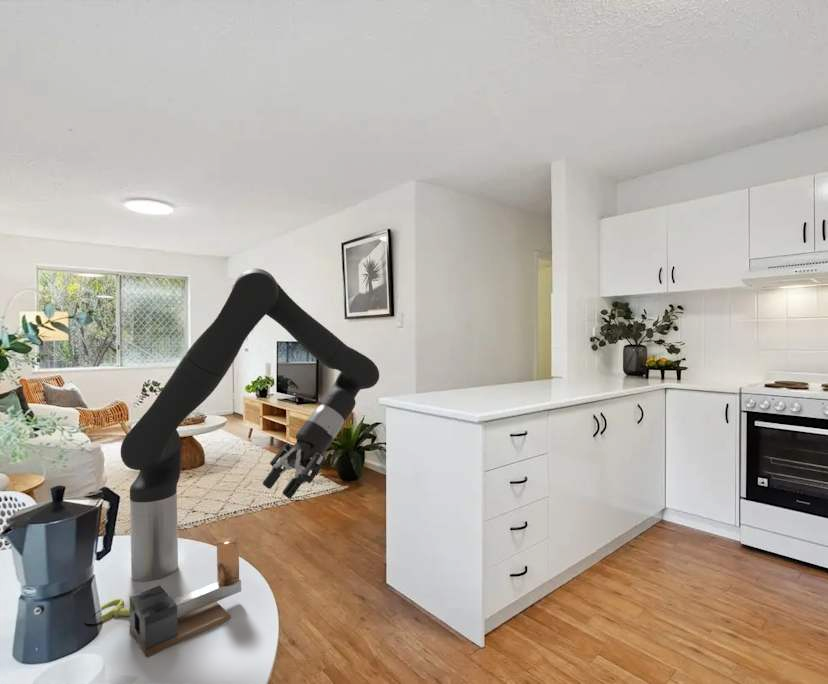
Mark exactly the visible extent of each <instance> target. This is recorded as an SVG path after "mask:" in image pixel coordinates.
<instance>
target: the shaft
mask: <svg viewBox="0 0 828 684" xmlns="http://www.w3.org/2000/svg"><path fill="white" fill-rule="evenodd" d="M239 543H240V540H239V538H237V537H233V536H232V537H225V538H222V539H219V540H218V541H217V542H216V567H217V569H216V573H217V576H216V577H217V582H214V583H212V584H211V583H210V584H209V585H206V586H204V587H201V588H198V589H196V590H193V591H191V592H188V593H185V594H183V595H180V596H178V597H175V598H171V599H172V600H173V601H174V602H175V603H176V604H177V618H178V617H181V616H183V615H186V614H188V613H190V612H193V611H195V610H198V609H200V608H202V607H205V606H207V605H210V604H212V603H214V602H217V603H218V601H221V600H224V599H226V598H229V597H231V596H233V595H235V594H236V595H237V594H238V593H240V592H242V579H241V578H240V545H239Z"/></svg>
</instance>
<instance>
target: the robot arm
mask: <svg viewBox="0 0 828 684" xmlns="http://www.w3.org/2000/svg"><path fill="white" fill-rule="evenodd" d="M265 316H268V317H269V318H271V319H272V320H273V321H274V322H276V323H278V325H280V326H281V327H283V328H284V329H285V331H286V332H287V333H289V335H291V336H292V338H293V339H294V340H296V342H297V344H300V346H301V347H302V348H303V349H305V351H307V352H308V353H309V354H310V355H312V356H313V357H314V358H315V359H316V360H317V361H319V362H320V363H321V364H322V365H324V366H325V367H327V368H328V369H331V370H336V371H338V372H339V374H338V375H337V377H336V379H335V381H334V383H333V385H332V387H331V390H330V391H329V393H328V394H327V395H326V396H325V397H324V399H323V400H322V402H321V403H320V404H319V406H318V407H317V408H316V409H314V411H313V412H312V413H311V414H310V415H309V417H308V418H307V420H306V421H305V422H304V423H303V425H302V426H301V428H300V429H299V431H298V432H297V433H296V435H295V440H296V443H294V445H293V446H292V445H291V444H290V443H288V442H286V443H285V444H283V446H282V447H281V449H280V450H279V451H278V452H277V454H276V455H275V456H274V457H273V458H272V460H271V461H270V462H269V465H270V466H271V468H272V469H271V471H270V472H269V473H268V474H267V476H266V477H265V479H264V480H263V481H262V485H263V486H264V487H266V488H267V489H269V490H270V489H272V488H273V487H274V485H275V484H276V483H277V481H278V479H279V478H280V477H281V475H282V474H283V473H285V472H286V471H291V470H292V469H295V472H294V476H293V477H292V478H291V479H290V481H289V482H288V484H287V485H286V486H285V488H284V489H283V491H282V494H283V496H285V497H286V498H287V499H292V497H293V496H294V495H295V494H296V493H297V491H298V489H300V487H301V485H303V484H305V483H308V484H311V483H312V482H313V480H314V479H315V477H316V475H317V474H318V472H319V471H320V470H321V468H322V466H323V465H324V463H325V462H326V459H325V457H324V456H323V455H324V454H325V452H326V451H327V450H328V448H329V447H330V445H331V444H332V443H333V441H334V439H335V438H336V437H337V435H338V433H340V431H341V430H342V429H341V428H342V427H343V426H344V424H345V422H346V420H347V419H348V417H350V415H351V413H352V412H353V410H354V408H355V406H356V403H357V401H356V399H355V398H356V396H357V395H358V393H360V391H361V390H365V389H370V388H372V387H374V386H376V384H378V382H379V379H380V371H379V368H378V366H377V365H376V364H375V362H374V361H373V360H372V359H370V358H369V357H368V356H366V355H364V354H363V353H361V352H359V351H358V350H356V349H354V348H352V347H350V346H348V345H347V344H345V343H344V342H343V341H342V340H341V339H340V338H338V336H336V335H335V334H334V333H333V332H331V331H330V330H329V329H328V328H326V327H325V326H324V325H322V324H321V323H320V322H319V321H318V320H316V319H315V318H314V317H312V316H311V315H310V314H309V313H308V312H306V311H305V310H304V309H303V308H301V306H300V305H298V304H297V303H296V302H295V301H294V300H293V299H292V298H291V297H290V296H289V294H288V293H287V292H286V291H285V290H284V289H283V288H282V287H281V286H280V284H279V283H278V282H277V280H276V279H275V276H273V275H272V274H271V273H270V272H269V271H266V270H264V269H261V268H250V269H247V270H245V271H243V272H242V273H241V274H240V275H239V276H238V278H237V279H236V280H235V281H234V285H233V287H232V290H231V291H230V293H229V296H228V297H227V299H226V301H225V303H224V305H223V306H222V308H221V310H220V312H219V313H218V314H217V316H216V318H215V319H214V321H213V322H212V323H211V324H210V325H209V326H208V327H207V328H206V329H205V331H203V333H202V334H200V336H198V338H197V339H196V340H195V341H194V342H193V344H192V345H191V346H190V347H189V349H188V351H187V352H186V353H185V355H184V356H183V358H182V359H181V361H180V362H179V363H178V364H177V366H176V367H175V370H174V372H173V373H172V375H171V376H170V378H169V379H168V380H167V382H166V383H165V385H164V386H163V387H162V389H161V390H160V392H159V393H158V395H157V397H156V398H155V400H154V402H152V404H151V405H150V407H149V408H148V409H147V411H145V413H144V414H143V415H142V416H141V418H140V419H138V421H137V422H136V423H135V424H134V425H133V427H132V428H131V429H130V430H129V431H128V433H127V434H126V435H125V437H123V440H122V443H121V447H120V458H121V461H122V463H123V465H124V466H126V467H127V468H128V469H131V470H134V471H139V473H138V475H137V476H136V478H135V480H134V481H133V483H132V484H131V486H130V488H129V513H130V514H129V516H130V519H129V520H130V521H129V522H130V523H129V524H130V563H131V564H130V569H131V572H130V573H131V578H132V580H135V581H138V582H139V581H142V582H146V581H147V582H148V581H154V580H158V579H161V578H164V577H166V576H168V575H171V574H172V573H174V572H175V571H176V570H177V569H178V568H179V550H178V549H179V545H178V544H179V541H178V539H179V538H178V537H179V536H178V497H177V496H178V495H177V491H178V490H177V489H178V486H177V485H178V483H179V480H180V477H181V463H182V460H181V459H182V445H181V444H182V442H181V438H180V434H179V432H178V430H177V429H178V428H179V427H180V425H181V424H182V422H184V420H185V419H186V418H187V417H188V416H190V414H192V413H193V412H194V411H195V410H196V409H197V408H198V407H200V406H201V405H202V404H203V402H204V401H206V400H207V398H208V397H209V396H211V394H212V393H213V392H214V391H215V389H216V388H217V387H218V386H219V384H220V383H221V381H222V380H223V379H224V377H225V375H226V374H227V373H228V371H229V369H230V367H232V364H233V363H234V362H235V359H236V357H237V356H238V354H239V352H240V351H241V348H242V347H243V344H244V343H245V341H246V339H247V337H248V336H249V335H250V333H251V332H253V330H254V328H255V327H256V326H257V325H258V324H259V323H260V321H261V320H262V319H263V318H264V317H265ZM310 472H311V473H310Z"/></svg>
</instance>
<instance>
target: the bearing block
mask: <svg viewBox="0 0 828 684" xmlns="http://www.w3.org/2000/svg"><path fill="white" fill-rule="evenodd" d="M172 599H173V598H172V597H171V596H170V595H169V594H168V592H166V591H165V589H164V588H163V587H162V586H161V585H158V586H155V587H152V588H149V589H145V590H143V591H140V592H138V593H135V594H132V595H129V609H130V616H129V623H130V624H129V625H130V627H131V629H132V630H133V632H134V633H135V635H136V636H137V638H138V640H139V641H140V643H141V644H142V646H143V647H144V649H145V650H147V649H150V648H152V647H154V646H157V645H159V644H161V643H163V642H166V641H168V640H170V639H172V638H175V637H177V604H176V603H175V602H174V601H173V600H172Z"/></svg>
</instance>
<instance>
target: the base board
mask: <svg viewBox="0 0 828 684" xmlns="http://www.w3.org/2000/svg"><path fill="white" fill-rule="evenodd" d="M230 620H231V614H230V613H229V612H228V611H227V610H226V609H225V608H224V607H223V606H222V605H221V604H219V603H218V601H217V602H214V603H212V604H210V605H207V606H205V607H202V608H200V609H198V610H195V611H193V612H190V613H188V614H186V615H183V616H181V617H178V618H177V637H175V638H172V639H170V640H168V641H166V642H163V643H161V644H159V645H157V646H154V647H152V648H150V649H147V650H145V649H144V647H143V646H142V644H141V643H140V641H139V640H138V638H137V636H136V635H135V633H134V632H133V630H132V629H131V627H130V624H129V625H128V627H129V628H128V629H129V632H130V635H131V636H132V637H133V639H134V641H135V642H136V643H137V645H138V647H139V648H140V649H141V651H142V653H143V655H144V656H145V658H146V659H147V658H149V657H151V656H154V655H156V654H158V653H160V652H162V651H164V650H167V649H169V648H171V647H173V646H175V645H178V644H180V643H182V642H184V641H186V640H189V639H191V638H193V637H195V636H198V635H199V634H202V633H204V632H206V631H208V630H210V629H213V628H215V627H217V626H220V625H222V624H224V623H227V622H229V621H230Z"/></svg>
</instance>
